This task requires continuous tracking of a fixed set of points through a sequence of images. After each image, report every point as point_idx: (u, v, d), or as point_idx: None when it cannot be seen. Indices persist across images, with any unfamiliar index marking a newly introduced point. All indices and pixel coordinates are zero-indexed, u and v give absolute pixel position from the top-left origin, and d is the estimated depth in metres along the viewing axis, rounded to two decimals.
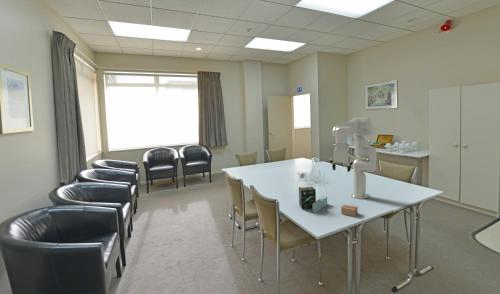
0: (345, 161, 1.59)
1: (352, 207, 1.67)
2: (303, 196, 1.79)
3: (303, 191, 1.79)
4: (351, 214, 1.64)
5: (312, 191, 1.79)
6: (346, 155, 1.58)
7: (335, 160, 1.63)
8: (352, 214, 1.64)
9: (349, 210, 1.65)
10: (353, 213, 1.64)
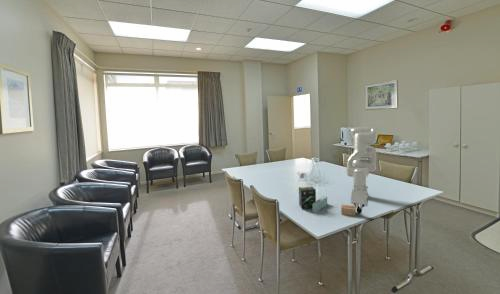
0: (363, 203, 1.60)
1: (351, 207, 1.67)
2: (303, 196, 1.79)
3: (303, 191, 1.79)
4: (352, 213, 1.65)
5: (312, 191, 1.79)
6: (365, 197, 1.59)
7: (353, 201, 1.64)
8: (353, 214, 1.65)
9: (349, 210, 1.65)
10: (354, 213, 1.64)
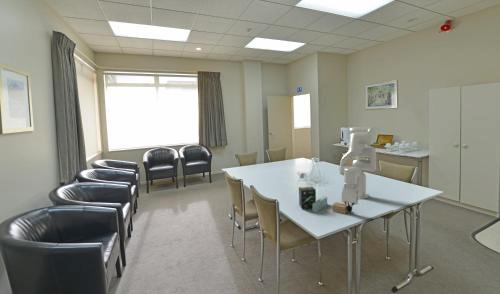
0: (353, 201, 1.64)
1: (343, 205, 1.72)
2: (303, 196, 1.79)
3: (303, 191, 1.79)
4: (342, 211, 1.70)
5: (312, 191, 1.79)
6: (354, 196, 1.63)
7: (343, 199, 1.68)
8: (343, 211, 1.69)
9: (340, 207, 1.70)
10: (344, 210, 1.69)
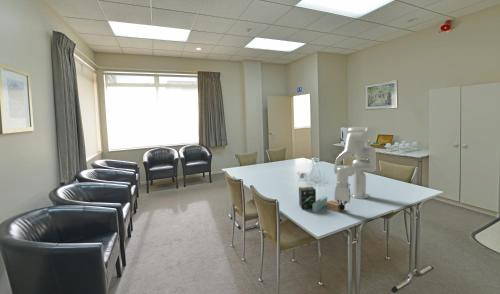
0: (346, 200, 1.67)
1: (337, 203, 1.76)
2: (303, 196, 1.79)
3: (303, 191, 1.79)
4: (335, 209, 1.74)
5: (312, 191, 1.79)
6: (347, 194, 1.66)
7: (336, 198, 1.71)
8: (335, 209, 1.73)
9: (333, 205, 1.75)
10: (336, 208, 1.73)
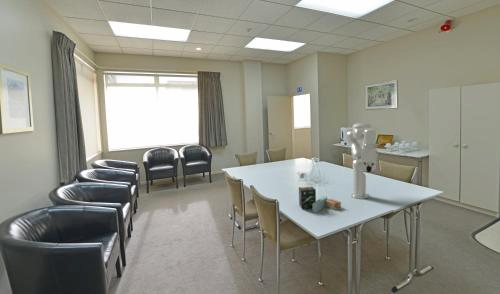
0: (373, 161, 1.69)
1: (334, 201, 1.79)
2: (303, 196, 1.79)
3: (303, 191, 1.79)
4: (331, 207, 1.78)
5: (312, 191, 1.79)
6: (374, 155, 1.69)
7: (363, 160, 1.74)
8: (332, 207, 1.78)
9: (330, 203, 1.79)
10: (332, 206, 1.77)
